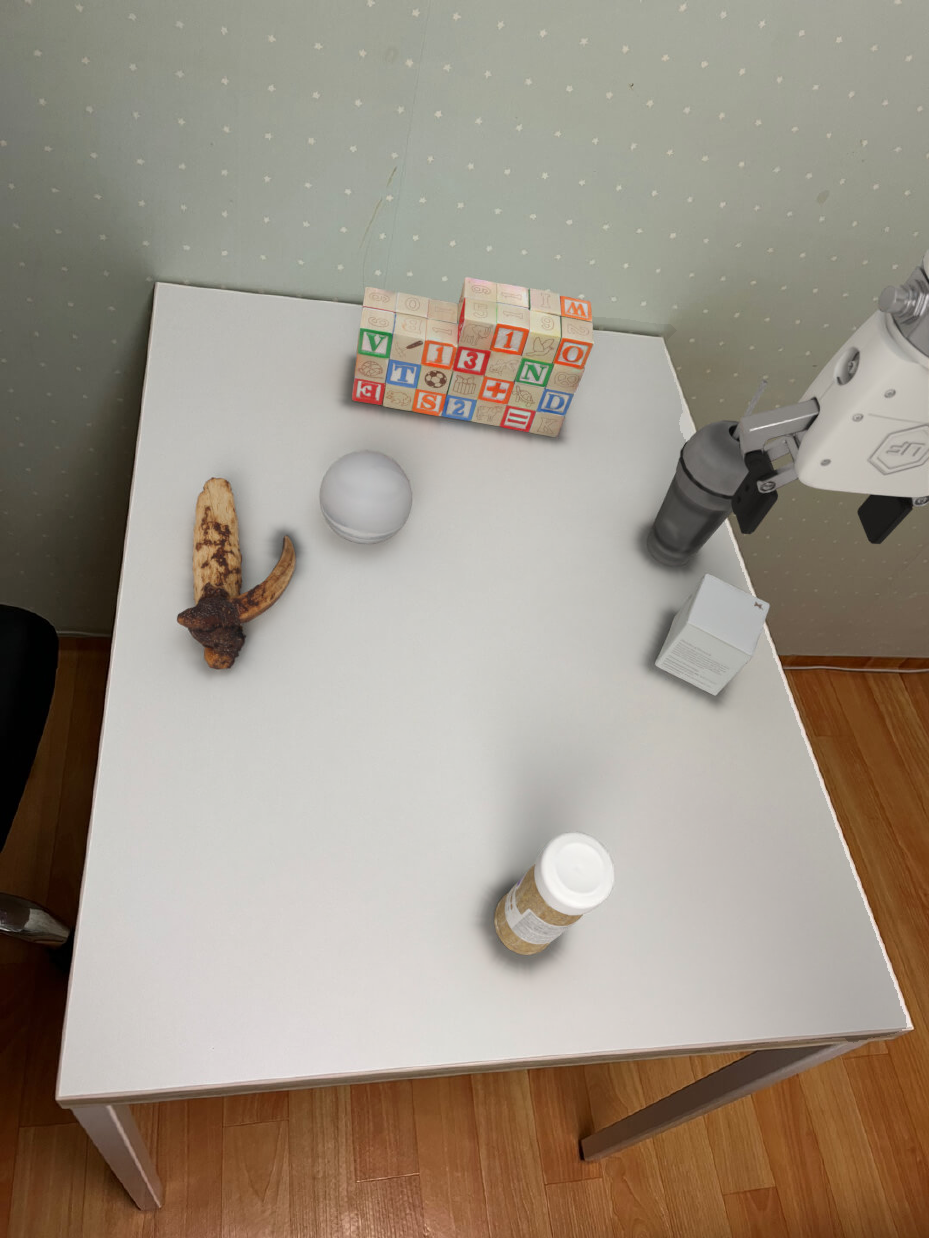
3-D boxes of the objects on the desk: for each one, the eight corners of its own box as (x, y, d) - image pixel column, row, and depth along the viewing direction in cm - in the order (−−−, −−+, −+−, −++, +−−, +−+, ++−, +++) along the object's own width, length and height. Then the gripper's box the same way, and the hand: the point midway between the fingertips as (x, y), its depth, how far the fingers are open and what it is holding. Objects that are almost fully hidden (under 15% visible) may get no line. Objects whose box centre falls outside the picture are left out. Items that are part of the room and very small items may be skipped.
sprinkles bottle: (508, 879, 63) (559, 815, 52) (564, 910, 62) (628, 852, 51) (481, 936, 60) (529, 882, 49) (539, 969, 60) (601, 922, 49)
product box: (673, 616, 79) (706, 569, 73) (734, 647, 78) (773, 603, 72) (652, 666, 76) (685, 621, 70) (715, 698, 75) (755, 656, 69)
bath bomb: (369, 479, 81) (379, 417, 74) (424, 537, 78) (438, 478, 72) (299, 515, 77) (301, 453, 71) (353, 577, 75) (361, 518, 68)
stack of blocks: (349, 403, 86) (360, 299, 76) (356, 361, 89) (368, 255, 79) (558, 438, 89) (595, 342, 79) (557, 396, 92) (592, 299, 82)
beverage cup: (635, 572, 81) (729, 417, 64) (630, 513, 85) (717, 352, 68) (709, 583, 82) (820, 433, 65) (700, 524, 86) (802, 368, 69)
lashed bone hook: (301, 675, 69) (291, 497, 78) (305, 646, 65) (294, 463, 74) (178, 678, 67) (182, 494, 76) (175, 648, 63) (179, 458, 72)
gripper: (842, 347, 43) (700, 558, 56) (1136, 383, 46) (933, 574, 60) (800, 255, 47) (678, 473, 61) (1072, 294, 50) (896, 492, 64)
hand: (804, 523), depth 60 cm, fingers open, 9 cm apart
